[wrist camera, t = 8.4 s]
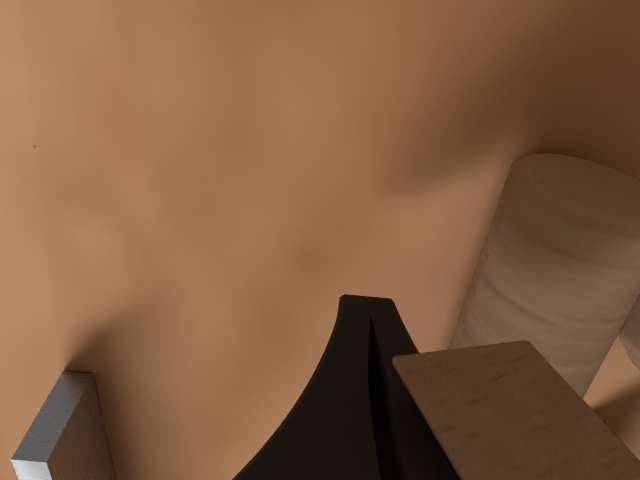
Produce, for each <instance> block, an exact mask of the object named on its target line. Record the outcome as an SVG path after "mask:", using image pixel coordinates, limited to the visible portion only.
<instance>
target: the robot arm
mask: <svg viewBox="0 0 640 480" xmlns="http://www.w3.org/2000/svg"><path fill="white" fill-rule="evenodd" d="M418 353H419V352H418V350H417V348H416V346H415V345H414V343H413V341H412V339H411V337H410V335H409V333H408V332H407V330H406V328H405V326H404V324H403V322H402V319H401V317H400V315H399V313H398V311H397V308H396V306H395V303H394V302H393V301H392V299H389V298H378V297H368V296H357V295H346V294H344V295H343V296H341V297H340V300H339V307H338V314H337V319H336V323H335V326H334V329H333V332H332V334H331V337H330V339H329V342H328V344H327V347H326V349H325V351H324V354H323V356H322V358H321V360H320V362H319V364H318V366H317V368H316V370H315V372H314V374H313V375H312V377H311V379H310V381H309V383H308V384H307V386H306V388H305V389H304V391H303V393H302V394H301V396H300V397H299V399H298V400H297V402H296V403H295V405H294V406H293V408H292V409H291V411H290V412H289V414H288V415H287V417H286V418H285V419H284V421H283V422H282V423H281V425H280V426H279V427H278V429H277V430H276V431H275V432H274V434H273V435H272V436H271V437H270V438H269V440H268V441H267V442H266V443H265V445H264V446H263V447H262V448H261V449H260V451H259V452H258V453H257V454H256V455H255V456H254V457H253V458H252V459H251V460H250V462H249V463H248V464H247V465H246V466H245V467H244V468H243V469H242V470H241V471H240V472H239V473H238V474H237V475H236V476H235V477H234V478H233V479H232V480H460V478H459V476H458V474H457V473H456V471H455V469H454V468H453V466H452V464H451V463H450V461H449V459H448V457H447V456H446V454H445V452H444V451H443V449H442V447H441V446H440V444H439V442H438V440H437V439H436V437H435V435H434V434H433V432H432V430H431V428H430V427H429V425H428V423H427V422H426V420H425V418H424V417H423V415H422V413H421V411H420V410H419V408H418V406H417V405H416V403H415V401H414V400H413V398H412V396H411V394H410V393H409V391H408V389H407V388H406V386H405V384H404V382H403V381H402V379H401V377H400V376H399V374H398V372H397V371H396V369H395V367H394V365H393V364H392V358H394V357H395V356H402V355H410V354H418Z"/></svg>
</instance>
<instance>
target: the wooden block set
mask: <svg viewBox="0 0 640 480" xmlns="http://www.w3.org/2000/svg"><path fill="white" fill-rule="evenodd" d="M618 334H619V337H620V339H621V341H622V343H623V345H624V347H625V349H626V351H627V353H628V355H629V357H630V359H631V361H632V363H633V364H634V365H635V366H637V367H638V368H639V369H640V180H638V179H636V178H634V177H632V176H630V175H628V174H626V173H623V172H621V171H619V170H616V169H613V168H611V167H608V166H605V165H603V164H599V163H596V162H592V161H589V160H586V159H582V158H578V157H573V156H568V155H563V154H552V153H534V154H526V155H523V156H521V157H519V158H517V160H516V161H515V162H514V163H513V164H512V166H511V169H510V172H509V175H508V178H507V181H506V184H505V187H504V189H503V192H502V195H501V198H500V201H499V204H498V207H497V210H496V213H495V216H494V218H493V221H492V224H491V227H490V230H489V233H488V236H487V239H486V242H485V245H484V247H483V250H482V253H481V256H480V259H479V262H478V265H477V268H476V271H475V273H474V276H473V279H472V282H471V285H470V288H469V291H468V294H467V297H466V300H465V302H464V305H463V308H462V311H461V314H460V317H459V320H458V323H457V326H456V329H455V331H454V334H453V337H452V340H451V343H450V346H449V349H448V350H442V351H434V352H426V353H418V354H410V355H402V356H395V357H394V358H392V364H393V365H394V367H395V369H396V371H397V372H398V374H399V376H400V377H401V379H402V381H403V382H404V384H405V386H406V388H407V389H408V391H409V393H410V394H411V396H412V398H413V400H414V401H415V403H416V405H417V406H418V408H419V410H420V411H421V413H422V415H423V417H424V418H425V420H426V422H427V423H428V425H429V427H430V428H431V430H432V432H433V434H434V435H435V437H436V439H437V440H438V442H439V444H440V446H441V447H442V449H443V451H444V452H445V454H446V456H447V457H448V459H449V461H450V463H451V464H452V466H453V468H454V469H455V471H456V473H457V474H458V476H459V478H460V480H640V461H639V459H638V458H637V457H636V456H635V455H634V454H633V453H632V452H631V451H630V450H629V449H628V448H627V447H626V445H625V444H624V443H623V442H622V441H621V440H620V439H619V438H618V437H617V436H616V435H615V434H614V432H613V431H612V430H611V429H610V428H609V427H608V426H607V425H606V424H605V423H604V422H603V421H602V420H601V418H600V417H599V416H598V415H597V414H596V413H595V412H594V411H593V410H592V409H591V408H590V407H589V406H588V404H587V403H586V402H585V401H584V400H583V397H584V395H585V393H586V392H587V390H588V388H589V386H590V384H591V382H592V381H593V379H594V377H595V375H596V373H597V372H598V370H599V368H600V366H601V364H602V362H603V361H604V359H605V357H606V355H607V353H608V351H609V350H610V348H611V346H612V344H613V342H614V340H615V339H616V337H617V335H618Z"/></svg>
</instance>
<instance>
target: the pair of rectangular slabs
mask: <svg viewBox="0 0 640 480" xmlns="http://www.w3.org/2000/svg"><path fill="white" fill-rule="evenodd" d="M603 422H604V423H605V421H603ZM605 424H606V423H605ZM11 461H12V463H13V466H14V468H15V471H16V473H17V476H18V478H19V480H116V477H115V473H114V468H113V464H112V459H111V454H110V450H109V445H108V441H107V436H106V431H105V427H104V422H103V417H102V413H101V408H100V404H99V399H98V394H97V390H96V385H95V381H94V376H93V373H83V372H72V371H63V372H62V374H61V375H60V377H59V379H58V380H57V382H56V384H55V386H54V387H53V389H52V391H51V392H50V394H49V396H48V397H47V399H46V401H45V403H44V404H43V406H42V408H41V409H40V411H39V413H38V415H37V416H36V418H35V420H34V421H33V423H32V425H31V426H30V428H29V430H28V432H27V433H26V435H25V437H24V438H23V440H22V442H21V443H20V445H19V447H18V449H17V450H16V452H15V454H14V455H13V457H12V459H11Z"/></svg>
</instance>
